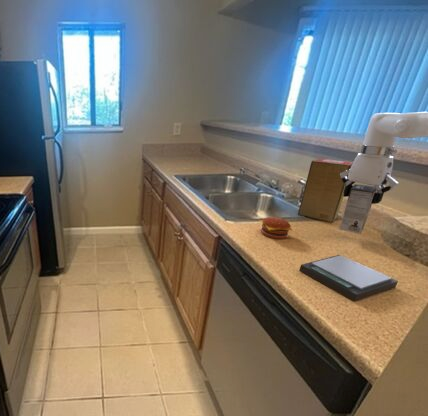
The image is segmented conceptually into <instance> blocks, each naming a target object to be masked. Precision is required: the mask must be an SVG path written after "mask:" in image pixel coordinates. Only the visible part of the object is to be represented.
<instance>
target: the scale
mask: <svg viewBox="0 0 428 416" xmlns="http://www.w3.org/2000/svg"><path fill="white" fill-rule="evenodd" d="M299 272H301V273H303V274H304V275H306V276H308V277H310V278H311V279H314V280H315V281H317V282H319V283H320V284H322V285H324V286H326V287H328V288H330V289H331V290H333V291H334V292H337V293H338V294H340V295H342V296H344V297H345V298H347V299H349V300H351V301H353V302H357V301H361V300H364V299H366V298H370V297H372V296H375V295H378V294H382V293H384V292H387V291H390V290H392V288H393V289H396V288H397V284H398V283H399V280H397V279H394V278H393V277H390V276H389V275H387V274H384V273H382V272H380V271H377V270H375V269H373V268H371V267H368V266H366V265H364V264H362V263H359V262H357V261H355V260H353V259H350V258H348V257H346V256H344V255H341V254H337V255H333V256H330V257H329V256H328V257H325V258H321V259H318V260H313V261H310V262H305V263H302V264H300V266H299Z"/></svg>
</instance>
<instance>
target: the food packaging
mask: <svg viewBox="0 0 428 416" xmlns="http://www.w3.org/2000/svg"><path fill="white" fill-rule="evenodd" d="M353 162H354V161H345V160H335V159H328V158H327V159H325V158H320V157H319V158H318V157H317V158H315V159H313V160H311V162H310V166H309V169H308V170H309V171H308V173H307V177H306V182H305V186H304V189H303V193H302V197H301V200H300V204H299V207H298V211H297V215H298V216H301V217H306V218H310V219H314V218H315V219H314V220H319V219H320V221H323V222H327V223H331V224H332V223H334V222H335V220H336V219H337V218H338V215H339V212H340V208H341V206H342V203H343V199H344V196H343V195H344V193H343V192H344V189H345V186H344V183H343V181H342V178H341V176H340V173H342V172H345V171H348V170H350V169H351V166H352V164H353ZM348 175H349V174H348ZM348 175H347V178H348Z"/></svg>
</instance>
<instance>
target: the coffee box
mask: <svg viewBox="0 0 428 416" xmlns="http://www.w3.org/2000/svg"><path fill="white" fill-rule="evenodd" d="M352 186H353V187H352V188H351V190H350V193H349V196H348V197H347V201H346V203H345V207H344V211H343V214H342V217H341V221H340V224H339V228H338V230H339V231H345V232H349V233H354V234H358V235H361V234H362V232H363V231H364V229H365V227H366V223H367V220H368V217H369V214H370V211H371V208H372V205H373V204H372V200H373V196H374V193H376V192H377V190H376V188H375V186H374V185H368V184H360V183H358V184H357V183H354V184H353V185H352Z"/></svg>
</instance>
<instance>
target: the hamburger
mask: <svg viewBox="0 0 428 416" xmlns="http://www.w3.org/2000/svg"><path fill="white" fill-rule="evenodd" d="M259 222H260V223H262V224H261V229H260V232H261V234H262V235H263V236H265V237H266V238H267V237H268V238H270V239H274V240H275V239H276V240H284V239H287V237H288V235H289V232H290V231H291V232H294V229H292V227H291V223H290V222H289V221H288V220H286V219H284V218H282V217H279V216H268V217H266V218H264V219H261V220H259Z"/></svg>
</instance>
